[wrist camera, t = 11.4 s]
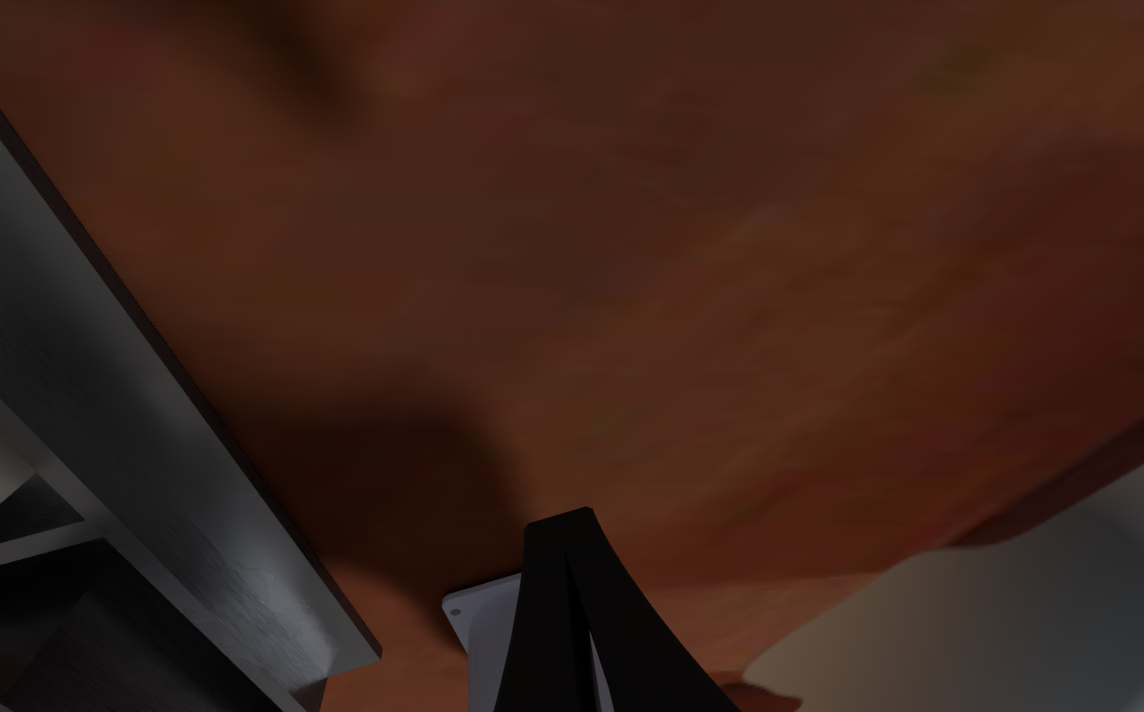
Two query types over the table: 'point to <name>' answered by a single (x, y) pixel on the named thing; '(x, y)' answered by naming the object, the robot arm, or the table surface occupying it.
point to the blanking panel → (12, 470)
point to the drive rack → (136, 506)
